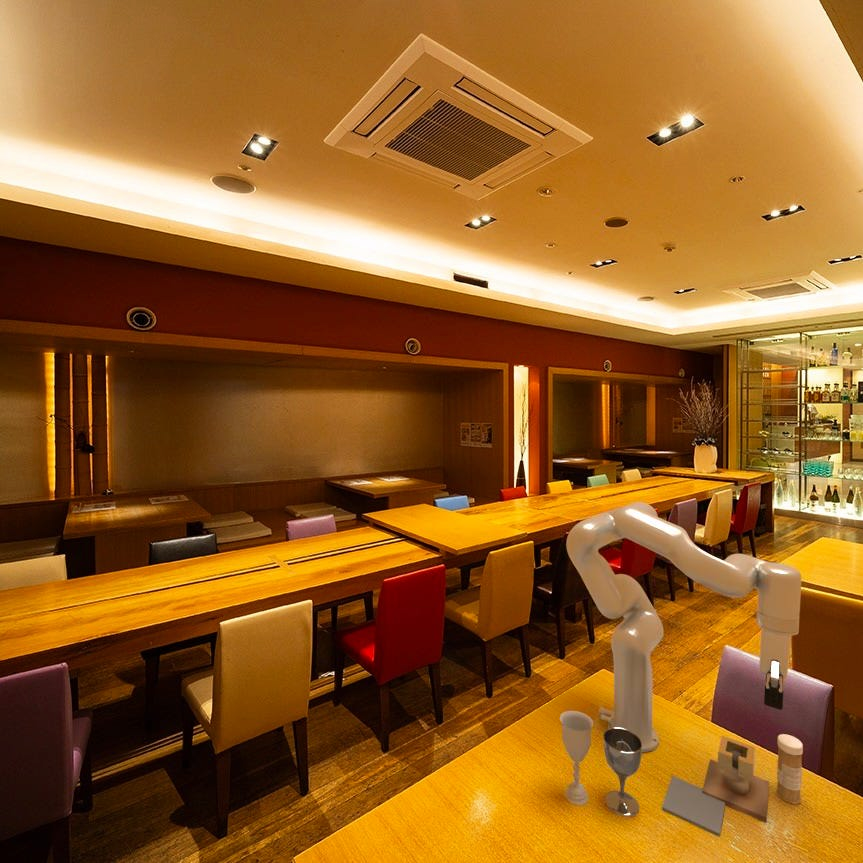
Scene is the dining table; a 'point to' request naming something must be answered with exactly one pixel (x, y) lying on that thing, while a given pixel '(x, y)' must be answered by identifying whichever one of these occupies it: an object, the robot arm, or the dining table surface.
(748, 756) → the c link
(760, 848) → the dining table surface
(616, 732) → the wine glass
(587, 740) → the chalice
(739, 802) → the stand
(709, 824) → the mat
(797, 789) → the sprinkles bottle
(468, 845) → the dining table surface
